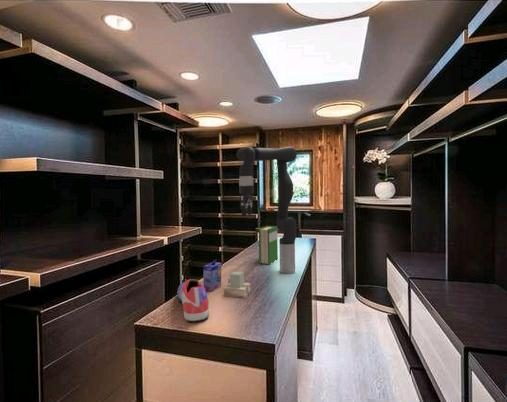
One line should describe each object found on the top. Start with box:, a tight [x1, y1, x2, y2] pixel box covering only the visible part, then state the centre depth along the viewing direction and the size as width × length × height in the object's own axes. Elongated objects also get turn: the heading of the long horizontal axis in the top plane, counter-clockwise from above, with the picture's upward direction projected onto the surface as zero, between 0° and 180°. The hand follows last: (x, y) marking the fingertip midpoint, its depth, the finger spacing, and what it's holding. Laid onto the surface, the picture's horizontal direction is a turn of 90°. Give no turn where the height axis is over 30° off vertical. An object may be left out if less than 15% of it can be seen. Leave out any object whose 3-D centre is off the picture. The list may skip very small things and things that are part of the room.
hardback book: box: [258, 225, 279, 266], centre depth 201 cm, size 18×7×24 cm, turn 157°
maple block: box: [223, 282, 251, 298], centre depth 139 cm, size 10×10×4 cm
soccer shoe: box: [176, 279, 210, 323], centre depth 123 cm, size 12×36×13 cm, turn 18°
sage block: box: [229, 271, 245, 288], centre depth 139 cm, size 5×5×6 cm
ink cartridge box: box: [202, 259, 222, 292], centre depth 147 cm, size 10×6×14 cm, turn 158°
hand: (246, 215), depth 155 cm, fingers open, 8 cm apart
